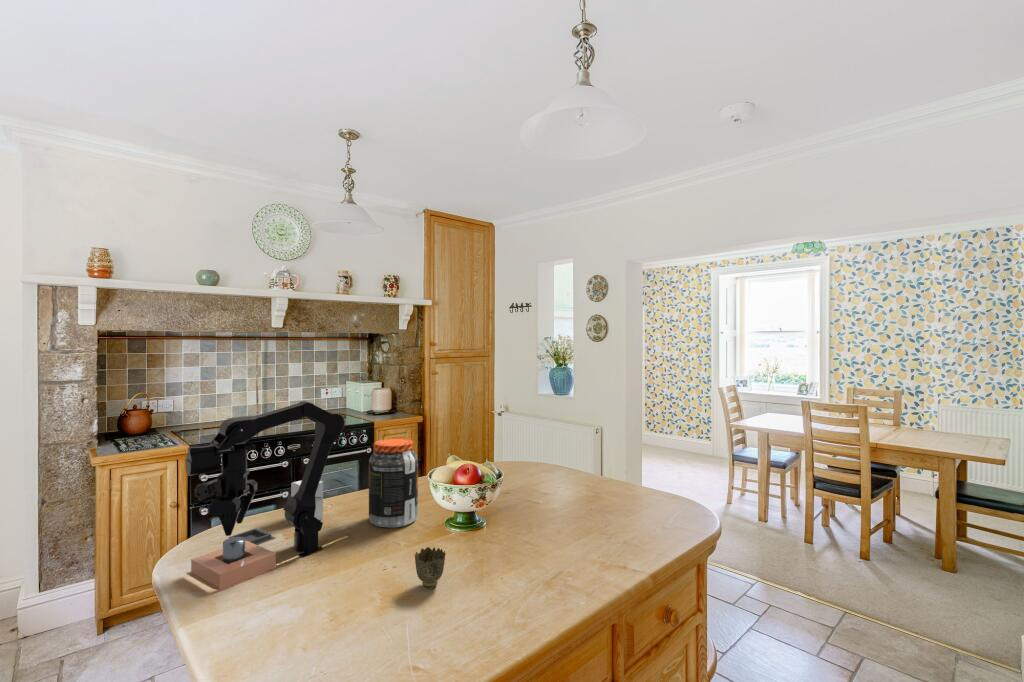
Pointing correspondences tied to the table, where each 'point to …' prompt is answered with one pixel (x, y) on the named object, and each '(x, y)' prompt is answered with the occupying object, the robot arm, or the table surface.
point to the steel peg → (233, 549)
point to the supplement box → (318, 497)
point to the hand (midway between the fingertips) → (234, 529)
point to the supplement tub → (393, 483)
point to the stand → (255, 536)
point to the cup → (430, 566)
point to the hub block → (233, 566)
